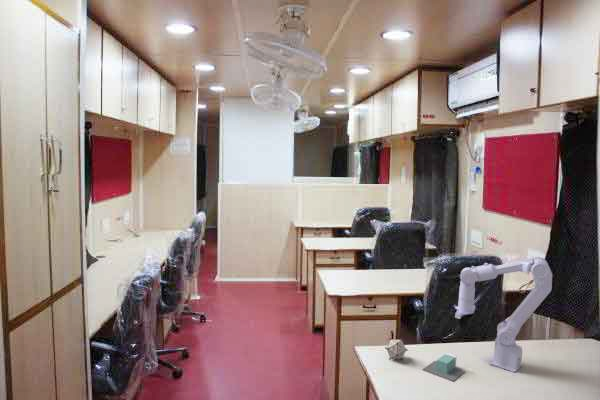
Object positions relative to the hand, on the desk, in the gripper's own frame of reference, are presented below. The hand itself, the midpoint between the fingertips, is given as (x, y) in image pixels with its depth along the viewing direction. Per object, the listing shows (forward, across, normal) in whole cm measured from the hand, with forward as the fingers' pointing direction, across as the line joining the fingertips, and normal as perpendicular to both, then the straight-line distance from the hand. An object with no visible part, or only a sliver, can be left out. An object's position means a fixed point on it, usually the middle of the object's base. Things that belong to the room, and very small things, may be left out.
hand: (463, 331), depth 181 cm
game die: (+11, +21, -18) cm, 29 cm away
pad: (+10, +17, 0) cm, 20 cm away
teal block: (+8, +11, 0) cm, 14 cm away
